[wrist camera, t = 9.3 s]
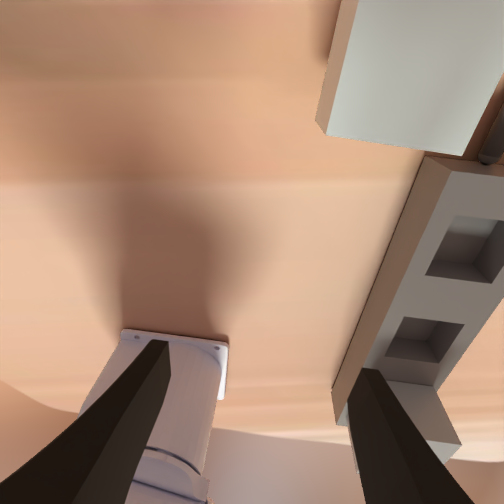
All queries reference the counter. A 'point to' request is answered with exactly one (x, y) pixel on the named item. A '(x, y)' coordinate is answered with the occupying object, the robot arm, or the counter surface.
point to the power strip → (433, 289)
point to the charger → (412, 71)
